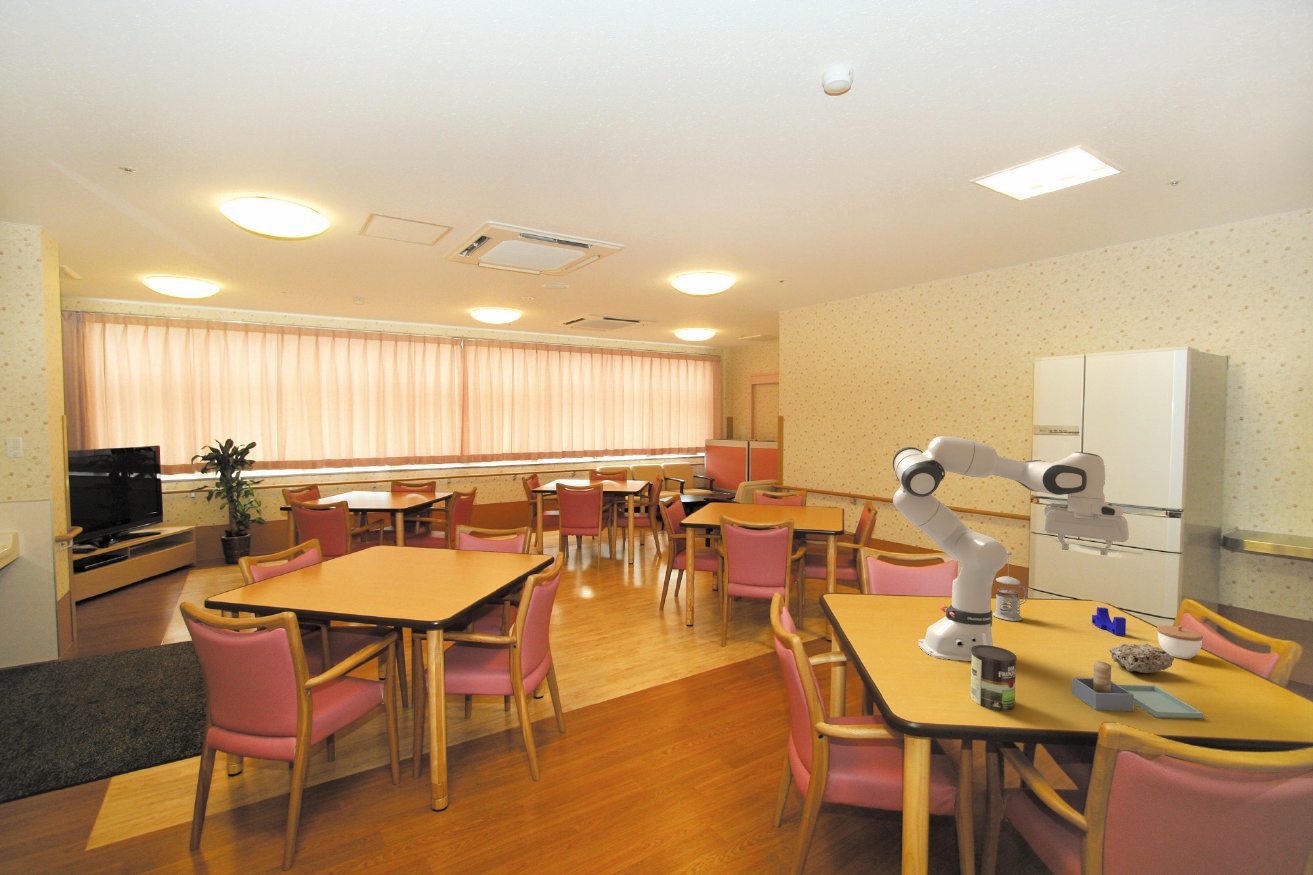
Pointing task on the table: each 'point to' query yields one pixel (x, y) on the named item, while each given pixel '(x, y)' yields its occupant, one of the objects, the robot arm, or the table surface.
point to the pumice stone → (1141, 657)
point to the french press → (1008, 599)
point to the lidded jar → (1179, 641)
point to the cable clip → (1109, 622)
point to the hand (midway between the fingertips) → (1084, 552)
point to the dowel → (1102, 677)
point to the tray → (1161, 703)
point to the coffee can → (993, 677)
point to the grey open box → (1102, 696)
